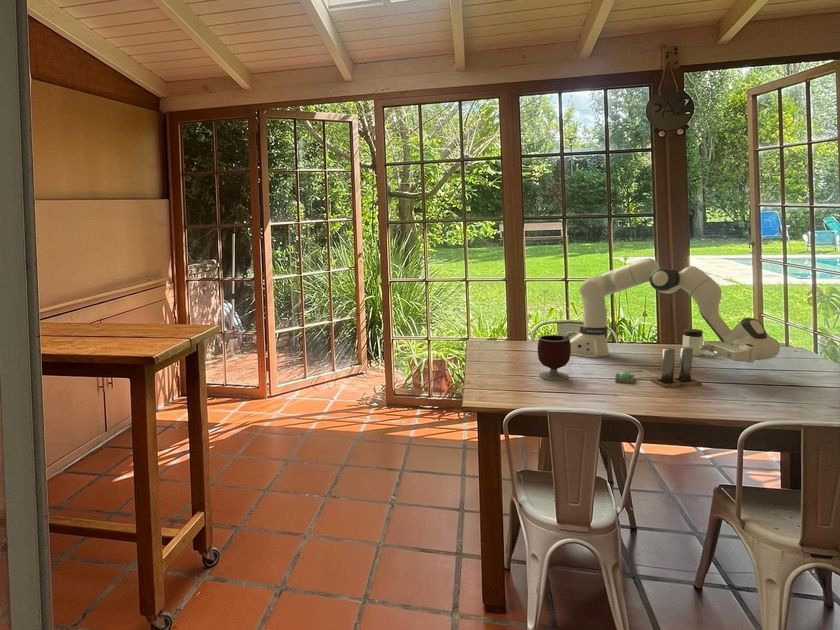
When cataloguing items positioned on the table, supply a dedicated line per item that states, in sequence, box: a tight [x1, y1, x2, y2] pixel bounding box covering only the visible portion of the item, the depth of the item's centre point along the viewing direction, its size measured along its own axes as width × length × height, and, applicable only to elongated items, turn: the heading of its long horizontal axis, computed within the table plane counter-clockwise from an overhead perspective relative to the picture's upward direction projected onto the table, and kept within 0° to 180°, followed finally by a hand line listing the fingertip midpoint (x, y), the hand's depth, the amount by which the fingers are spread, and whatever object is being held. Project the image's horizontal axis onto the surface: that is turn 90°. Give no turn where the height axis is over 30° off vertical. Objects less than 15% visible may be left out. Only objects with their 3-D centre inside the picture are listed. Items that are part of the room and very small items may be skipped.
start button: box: [619, 371, 631, 378], centre depth 217 cm, size 4×4×4 cm
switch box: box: [614, 373, 635, 385], centre depth 217 cm, size 7×7×3 cm
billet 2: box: [678, 347, 694, 383], centre depth 212 cm, size 4×4×14 cm
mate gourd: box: [537, 331, 576, 382], centre depth 229 cm, size 16×14×20 cm
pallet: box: [650, 376, 703, 389], centre depth 212 cm, size 16×9×2 cm, turn 97°
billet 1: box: [660, 347, 676, 384], centre depth 211 cm, size 4×4×14 cm
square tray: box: [619, 369, 659, 380], centre depth 226 cm, size 11×11×2 cm
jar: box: [682, 328, 704, 357], centre depth 262 cm, size 9×8×12 cm
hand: (707, 351), depth 214 cm, fingers open, 8 cm apart
